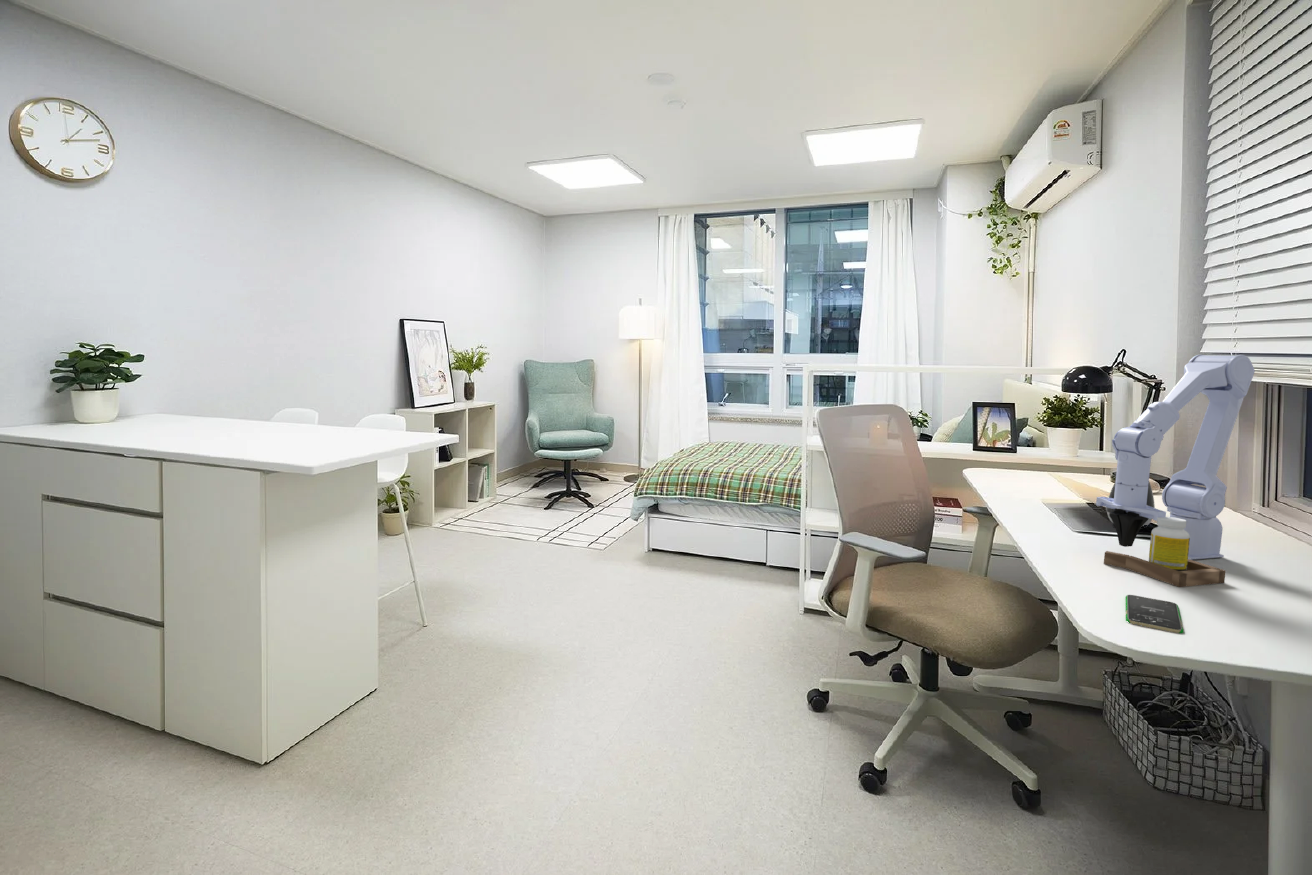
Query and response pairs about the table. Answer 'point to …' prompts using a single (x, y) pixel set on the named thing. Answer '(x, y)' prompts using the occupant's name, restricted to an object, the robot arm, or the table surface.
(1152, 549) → the pill bottle
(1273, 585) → the table surface
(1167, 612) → the smartphone
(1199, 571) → the wooden u-shaped bracket
